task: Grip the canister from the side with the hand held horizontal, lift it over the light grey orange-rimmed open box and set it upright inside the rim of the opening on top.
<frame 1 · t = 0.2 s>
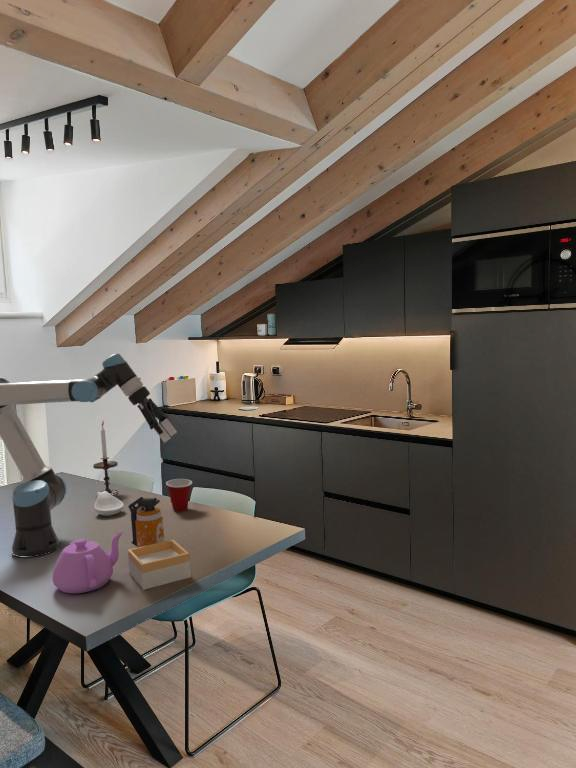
hand: (171, 437, 222), 35 cm above the table, tool tilted 35°, fingers open, 13 cm apart
orange-rimmed open box: (159, 575, 185), on the table
canister: (148, 556, 201), on the table
plastic cup: (180, 510, 251), on the table
spoon rest: (106, 511, 256), on the table
candlestick: (107, 494, 281), on the table
teapot: (91, 583, 182), on the table
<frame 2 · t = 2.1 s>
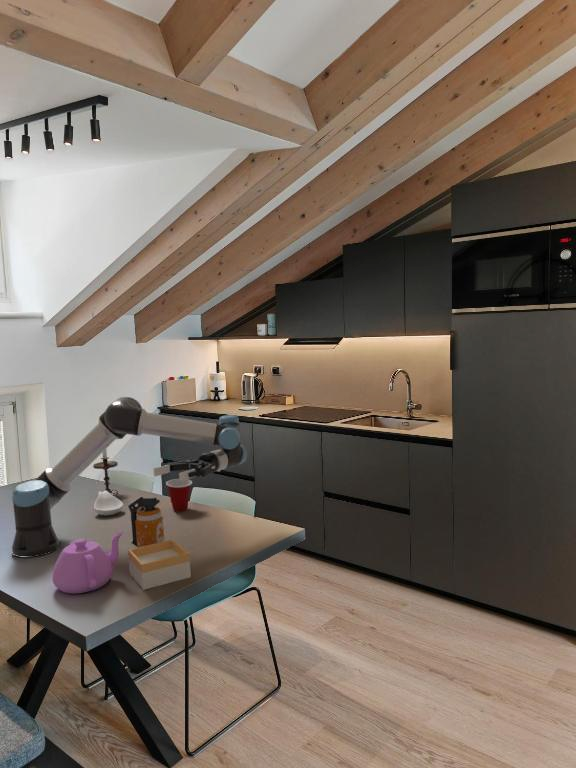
hand: (166, 474, 206), 26 cm above the table, tool horizontal, fingers open, 13 cm apart
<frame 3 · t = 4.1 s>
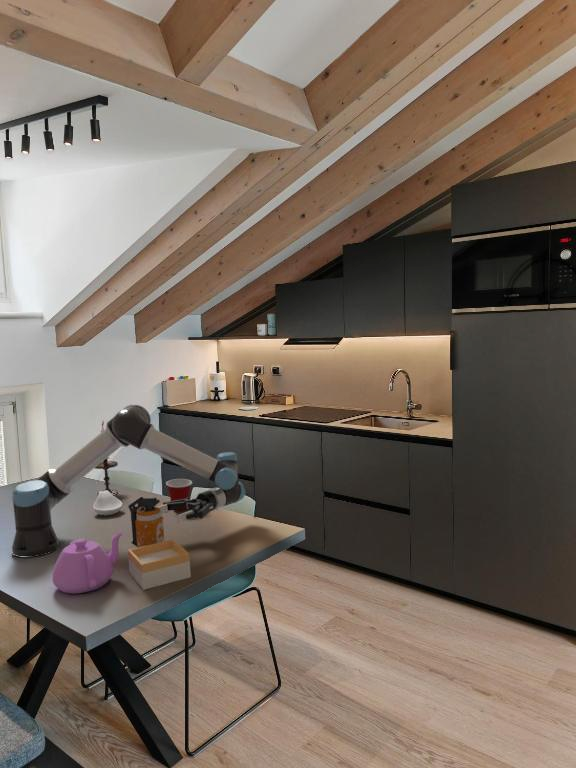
hand: (164, 516, 205), 12 cm above the table, tool horizontal, fingers open, 13 cm apart
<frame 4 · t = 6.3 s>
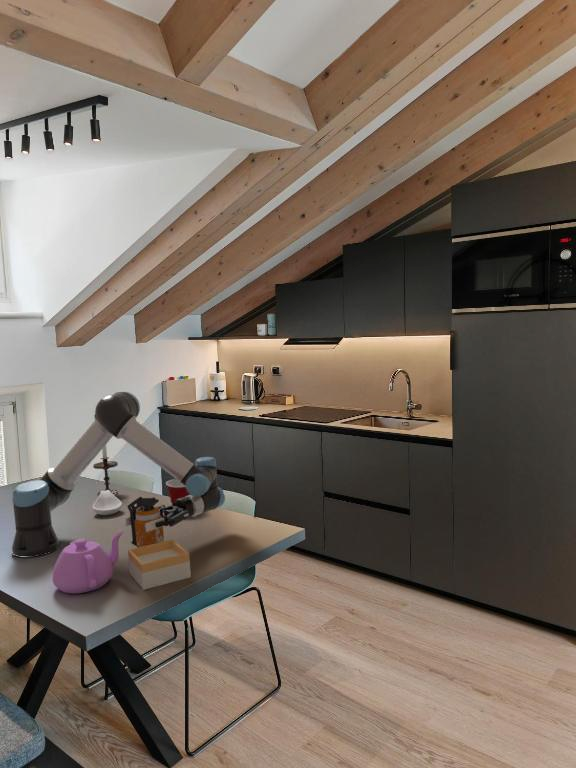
hand: (135, 524, 196), 12 cm above the table, tool horizontal, fingers closed on canister, 10 cm apart
canister: (148, 556, 201), on the table, touching gripper
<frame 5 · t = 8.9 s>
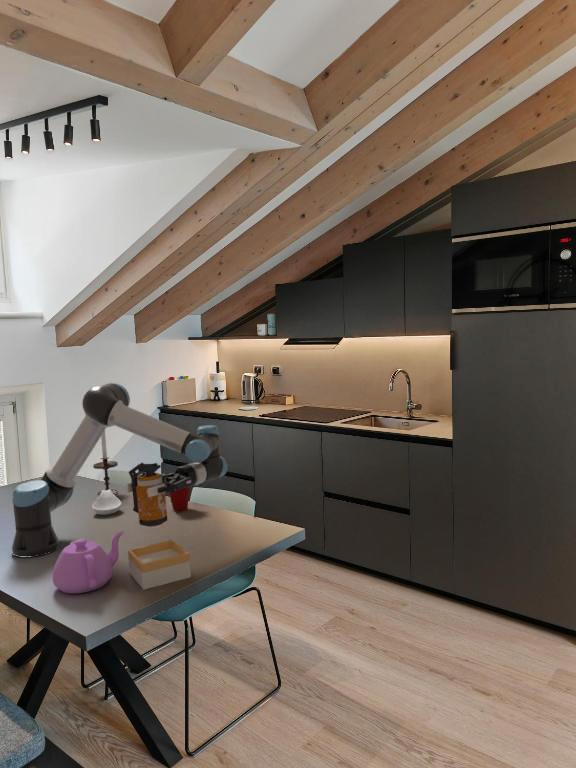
hand: (137, 490, 192), 24 cm above the table, tool horizontal, fingers closed on canister, 10 cm apart
canister: (150, 523, 196), point 12 cm above the table, touching gripper
when the fingers open (18 cm above the table, at t = 11.7 s): canister drops 1 cm, resting on orange-rimmed open box.
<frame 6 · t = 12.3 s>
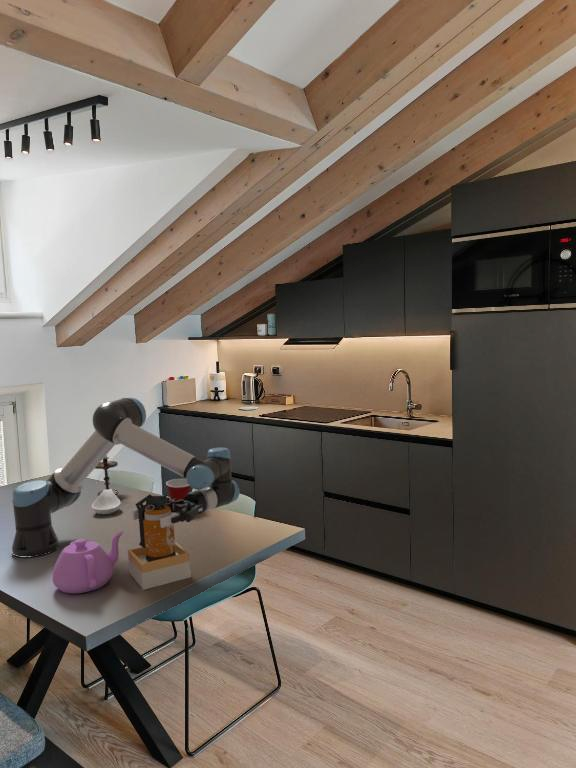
hand: (146, 519, 180), 18 cm above the table, tool horizontal, fingers open, 13 cm apart
canister: (157, 559, 184), point 5 cm above the table, touching orange-rimmed open box
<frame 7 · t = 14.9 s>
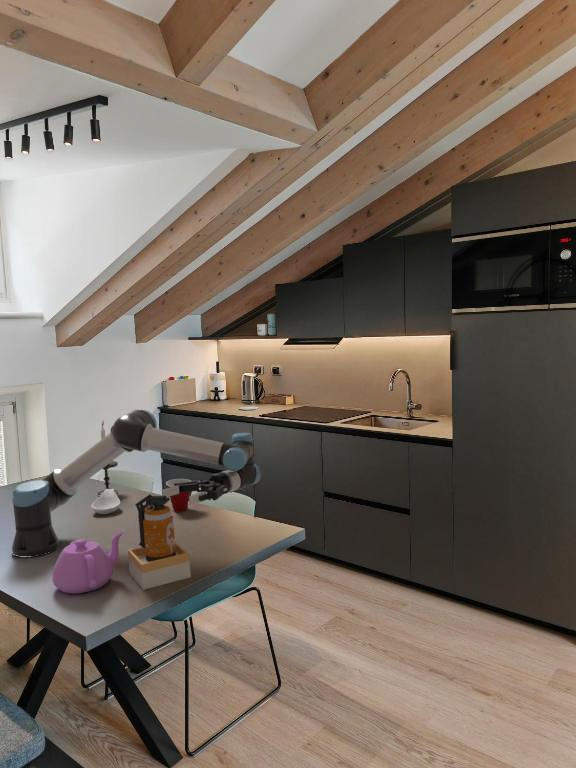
hand: (175, 497, 193), 21 cm above the table, tool horizontal, fingers open, 13 cm apart
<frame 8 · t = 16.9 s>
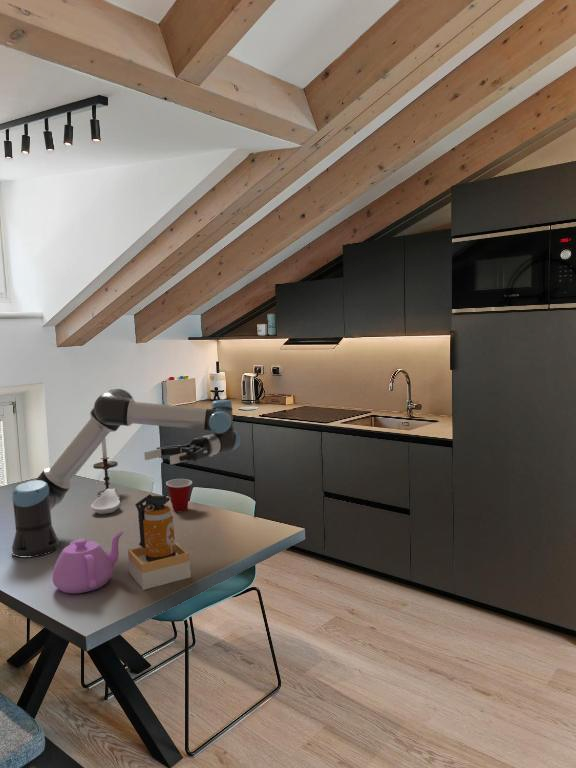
hand: (157, 458, 202), 32 cm above the table, tool horizontal, fingers open, 13 cm apart
at the end: canister 0.4 cm off-centre on the orange-rimmed open box, point 4.8 cm above the orange-rimmed open box's base; canister tilted 0°; the gripper is holding nothing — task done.
